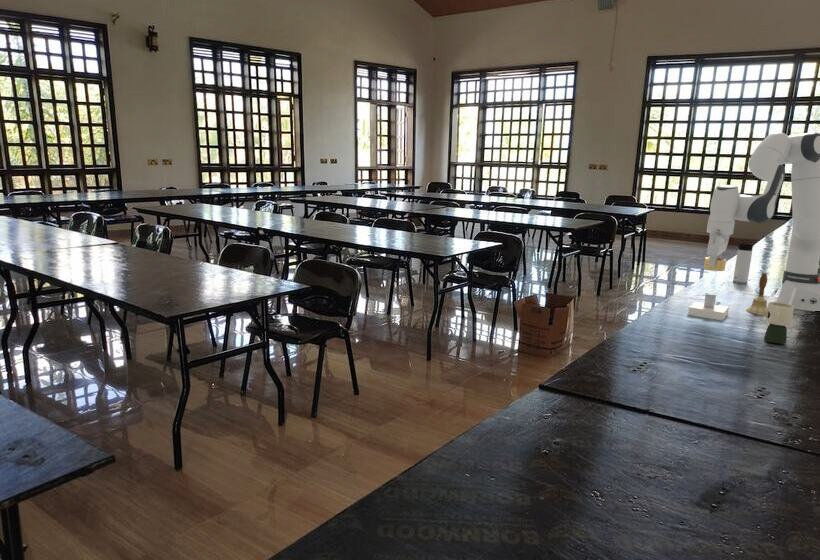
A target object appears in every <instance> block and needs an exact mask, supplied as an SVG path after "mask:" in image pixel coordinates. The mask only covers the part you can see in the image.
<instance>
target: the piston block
mask: <svg viewBox="0 0 820 560" xmlns="http://www.w3.org/2000/svg"><path fill="white" fill-rule="evenodd" d="M716 299H717V294H714V293H711V292H710V293H709V292H708V293H705V296H704V302H699V301H694V302H693V303H692V304H691V305H689V307H688V311H687V312H688V313H687V315H688V316H693V317H698V318H704V319H705V318H706V319H710V320H711V319H712V320H717V321H721V322H722V321H724V320H725V319H726V317H727V316H728V314H729V310H730V308H729V307H730V306H726V305H725V306H724V305H719V304H716Z"/></svg>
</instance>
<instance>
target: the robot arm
mask: <svg viewBox="0 0 820 560" xmlns="http://www.w3.org/2000/svg"><path fill="white" fill-rule="evenodd" d="M790 164H791V172H790V181H791V205H792V207H791V210H792V230H791V236H790V240H789V241H790V242H789V248H788V252H787V259H786V265H785V269H784V271H783V274H782V280H781V284H782V285H781V288H780V291H779V294H778V296H777V297H776V299H775V301H774V302H780V303H786V304H790V305H793V306H794V310H798V309H799V310H800V311H808V312H815V311H820V274H818V268H819V266H820V265H819V264H820V133H819V132H806V133H798V134H797V133H795V134H791V135H787V134H786V133H784V132H779V131H778V132H776V131H775V132H772V133H770V134H768V135H767V136H766V137H765V138H764V139H763V140H762V141H761V142H760V143H759V144H758V146H757V147H756V148H755V150H753V153H752V154H751V155H750V158H749V160H748V169H749V170H750V172H751V173H752V174H753V176H754V177H756V178H758V179H759V180H762V181H765V182H767V183H766V185H765V188H764V191H763V193H762V194H757V195H753V194H752V195H750V194H741V193H740V192H739V187H738V186H737V185H735V184H721V185H718V186H716V187H715V188H714V190H713V194H712V196H711V197H712V198H711V201H710V205H709V207H710V208H709V210H710V211H709V212H710V214H709V216H708V220H707V226H706V233H708V234H709V240H708V243H707V249H706V256H709V257H710V266H711V267H715V266H716V258H722V255H723V254H722V253H723V252H724V253H725V252H726V251H727V247H728V244H729V240H730V236H732V235H734V230H735V229H734V228H735V224H736V223H735V222H736V220H737V221H743V222H749V223H754V224H759V225H761V224H765V223H766V222H768V221H769V220H771V219H772V218H773V216H774V214H775V208H776V204H777V201H778V198H779V196H780V194H781V193H780V192H781V190H782V187H783V184H784V182H785V178H786V168H785V167H784V165H790Z"/></svg>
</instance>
